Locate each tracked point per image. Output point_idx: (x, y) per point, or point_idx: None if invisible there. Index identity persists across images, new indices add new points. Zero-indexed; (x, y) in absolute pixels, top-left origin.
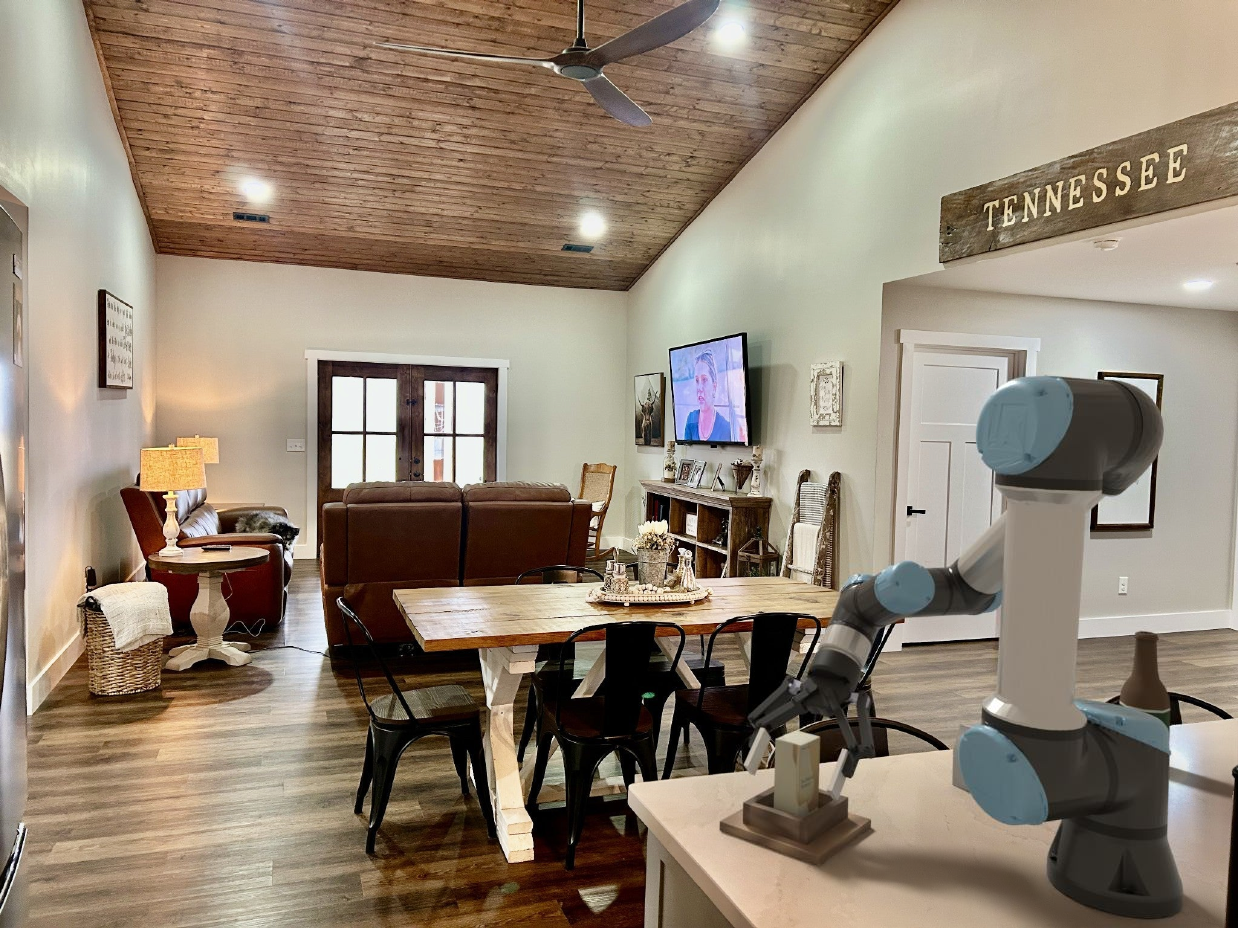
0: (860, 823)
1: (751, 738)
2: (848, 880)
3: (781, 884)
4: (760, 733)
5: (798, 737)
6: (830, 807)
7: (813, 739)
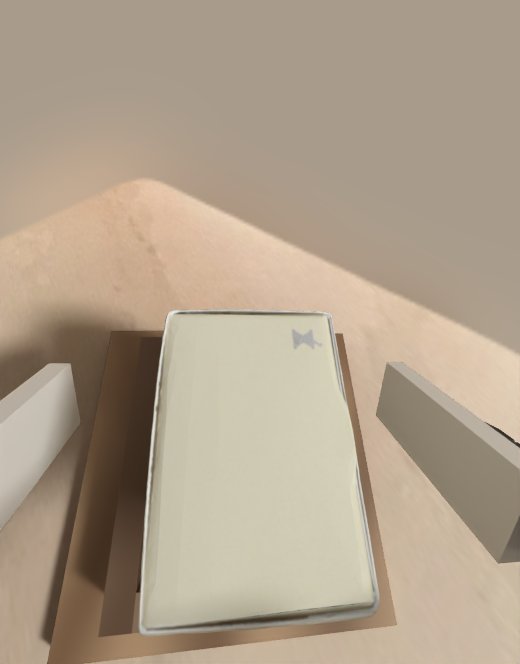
0: (72, 592)
1: (518, 446)
2: (47, 324)
3: (147, 251)
4: (507, 450)
5: (252, 430)
6: (125, 481)
7: (157, 500)
